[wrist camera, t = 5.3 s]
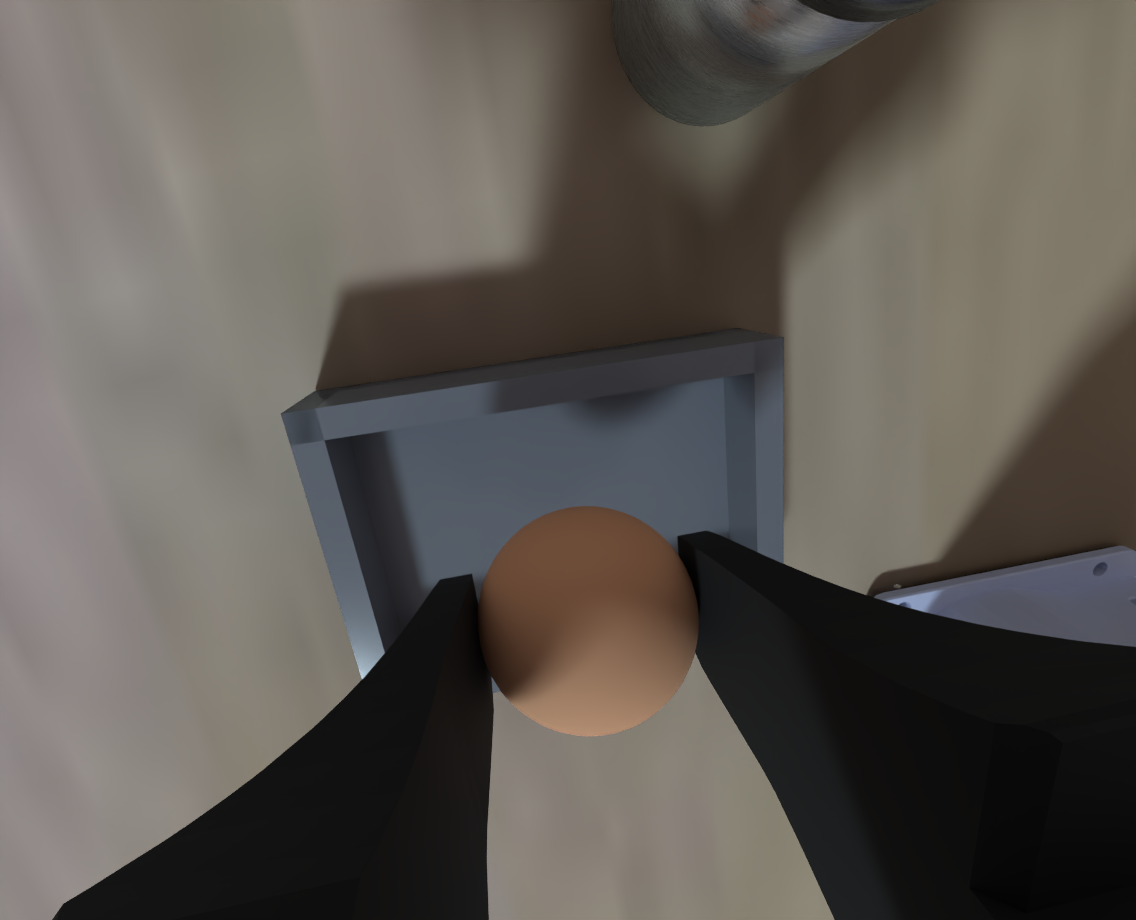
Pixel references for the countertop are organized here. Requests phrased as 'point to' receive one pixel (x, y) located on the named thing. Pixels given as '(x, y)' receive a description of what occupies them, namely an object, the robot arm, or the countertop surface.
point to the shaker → (737, 48)
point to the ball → (588, 621)
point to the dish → (535, 462)
